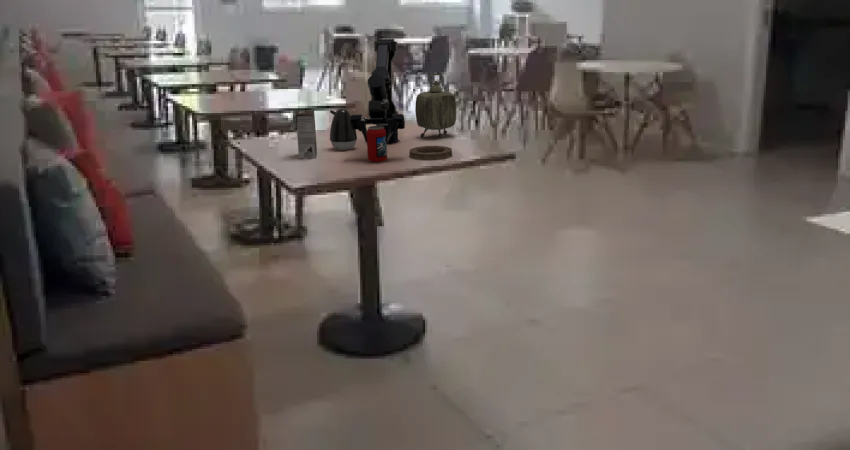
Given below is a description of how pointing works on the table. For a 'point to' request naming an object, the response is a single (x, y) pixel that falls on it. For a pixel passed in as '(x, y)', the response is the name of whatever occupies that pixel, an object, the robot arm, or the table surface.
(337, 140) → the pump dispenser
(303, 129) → the coffee box
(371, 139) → the beverage can
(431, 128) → the tabletop clock
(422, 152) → the walnut ring
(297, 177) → the table surface
